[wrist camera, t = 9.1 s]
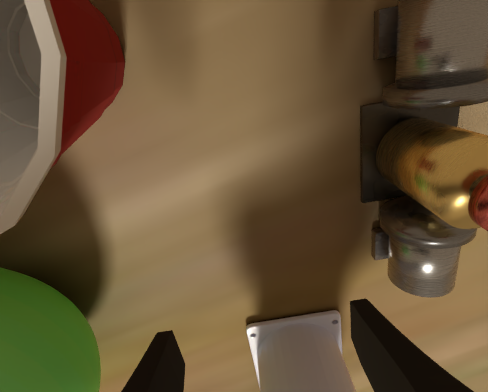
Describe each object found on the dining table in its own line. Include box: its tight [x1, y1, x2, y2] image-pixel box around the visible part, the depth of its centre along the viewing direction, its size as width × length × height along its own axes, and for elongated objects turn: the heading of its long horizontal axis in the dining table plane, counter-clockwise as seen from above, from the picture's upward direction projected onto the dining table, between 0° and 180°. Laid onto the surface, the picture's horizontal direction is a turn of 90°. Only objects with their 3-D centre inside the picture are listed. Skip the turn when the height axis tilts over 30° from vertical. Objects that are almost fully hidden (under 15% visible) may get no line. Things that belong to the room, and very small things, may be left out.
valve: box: [376, 118, 488, 231], centre depth 15 cm, size 4×4×8 cm
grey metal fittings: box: [360, 0, 488, 297], centre depth 17 cm, size 17×6×5 cm, turn 10°
